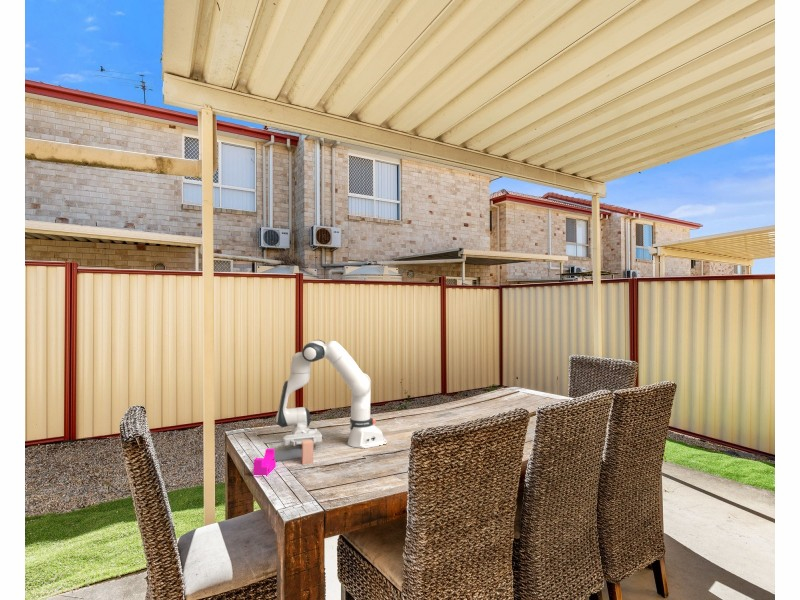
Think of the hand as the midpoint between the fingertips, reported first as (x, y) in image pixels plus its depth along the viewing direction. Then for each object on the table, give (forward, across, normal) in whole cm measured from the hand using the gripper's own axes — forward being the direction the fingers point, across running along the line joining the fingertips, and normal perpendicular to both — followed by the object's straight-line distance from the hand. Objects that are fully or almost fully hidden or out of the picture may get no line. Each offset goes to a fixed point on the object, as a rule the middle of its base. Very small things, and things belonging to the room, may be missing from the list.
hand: (304, 443), depth 206 cm
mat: (-1, -8, +6) cm, 10 cm away
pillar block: (+11, 0, +6) cm, 13 cm away
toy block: (+15, -19, +6) cm, 25 cm away
